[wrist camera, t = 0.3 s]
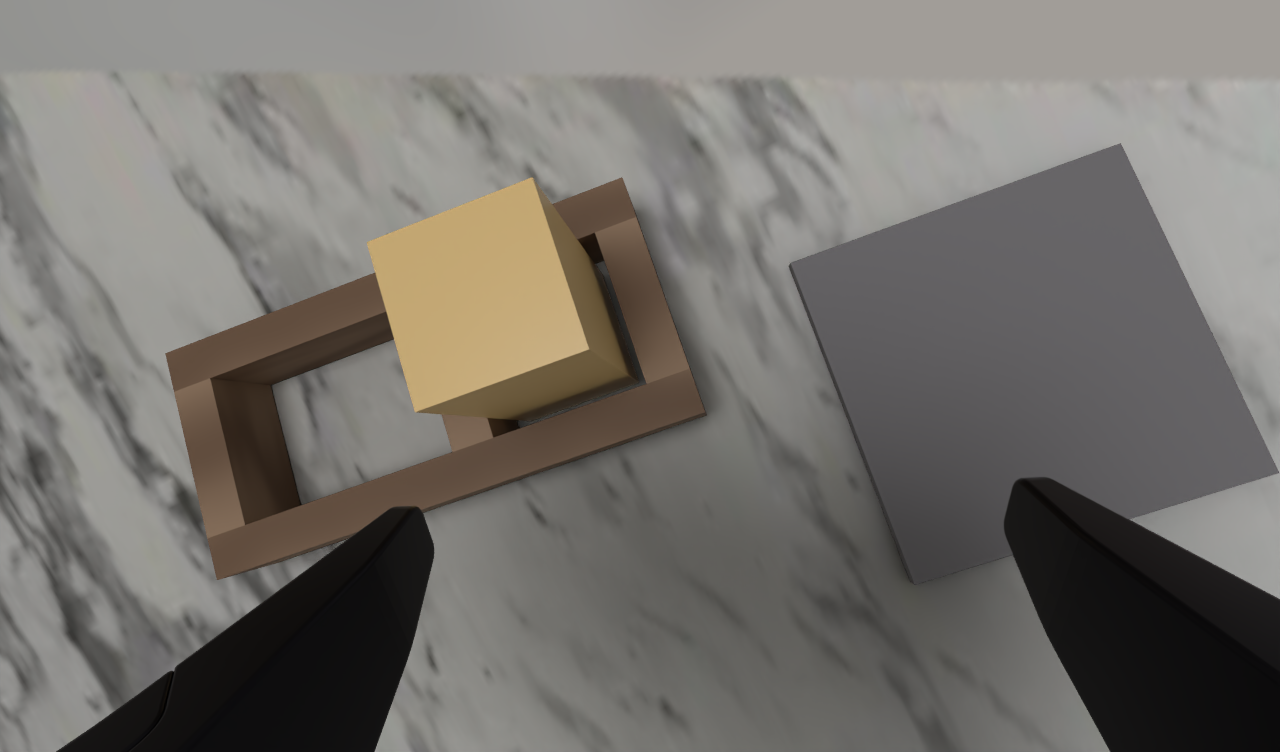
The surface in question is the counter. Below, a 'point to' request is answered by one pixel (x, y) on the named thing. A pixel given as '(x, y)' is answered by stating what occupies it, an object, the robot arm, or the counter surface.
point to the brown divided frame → (481, 447)
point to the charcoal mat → (1026, 361)
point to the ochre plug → (500, 310)
